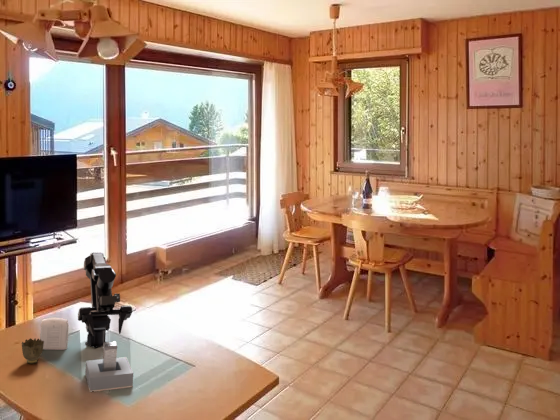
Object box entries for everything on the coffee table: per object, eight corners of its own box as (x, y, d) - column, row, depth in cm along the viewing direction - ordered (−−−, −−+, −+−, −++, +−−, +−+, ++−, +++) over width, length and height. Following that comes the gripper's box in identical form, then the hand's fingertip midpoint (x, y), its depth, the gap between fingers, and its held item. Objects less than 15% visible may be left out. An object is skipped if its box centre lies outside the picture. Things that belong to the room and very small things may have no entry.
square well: (85, 374, 189) (85, 360, 188) (125, 369, 195) (126, 356, 194) (89, 391, 176) (90, 377, 176) (132, 386, 182) (133, 373, 182)
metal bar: (101, 377, 186) (103, 342, 185) (113, 376, 188) (115, 341, 186) (103, 382, 183) (104, 346, 181) (115, 381, 184) (117, 345, 183)
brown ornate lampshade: (34, 368, 190) (35, 347, 189) (16, 365, 191) (17, 343, 190) (47, 360, 197) (48, 339, 196) (30, 357, 198) (30, 336, 197)
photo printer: (68, 346, 211) (69, 316, 210) (66, 350, 207) (67, 320, 206) (40, 346, 209) (41, 316, 207) (38, 350, 205) (39, 319, 203)
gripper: (80, 286, 190) (82, 326, 181) (133, 284, 198) (137, 323, 190) (76, 300, 198) (78, 339, 189) (127, 298, 206) (131, 336, 198)
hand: (106, 334), depth 191 cm, fingers open, 9 cm apart
